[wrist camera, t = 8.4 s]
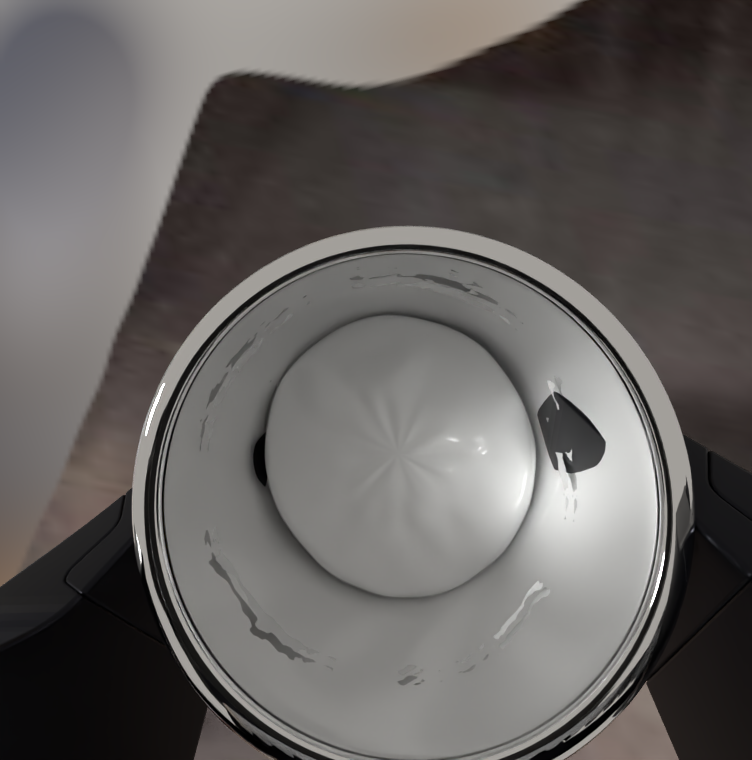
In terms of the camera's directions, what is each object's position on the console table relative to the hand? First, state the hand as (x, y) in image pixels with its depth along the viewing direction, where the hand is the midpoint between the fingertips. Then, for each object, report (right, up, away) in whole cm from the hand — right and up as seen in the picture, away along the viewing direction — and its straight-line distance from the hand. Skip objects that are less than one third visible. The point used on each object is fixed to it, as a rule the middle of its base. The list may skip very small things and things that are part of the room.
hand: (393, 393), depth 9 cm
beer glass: (+1, -2, +10) cm, 11 cm away
